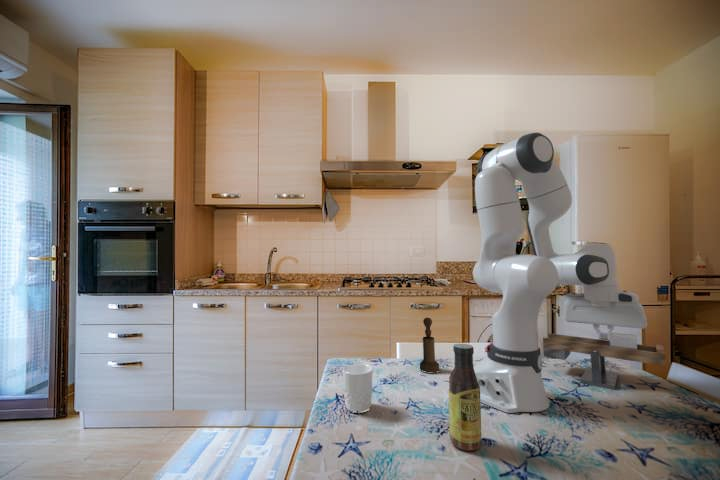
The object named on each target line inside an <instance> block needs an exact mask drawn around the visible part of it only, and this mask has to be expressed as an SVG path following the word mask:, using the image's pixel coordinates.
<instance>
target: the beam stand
mask: <svg viewBox="0 0 720 480" xmlns="http://www.w3.org/2000/svg"><path fill="white" fill-rule="evenodd" d="M590 354H591V355H590ZM590 354H589V355H590V366H591V367H588V366H587V367H586V368H585V370H584V371H583V373H582V375H581V377H580V379H579V381H580V384H585V385H589V386H595V387H598V388H604V389H609V390H615V389H616V386H617V383H618V377H619V372H617V371H612V370H607V366H606V357H603V356H600V354H599V352H594V351H591V352H590Z"/></svg>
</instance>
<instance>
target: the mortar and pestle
mask: <svg viewBox="0 0 720 480" xmlns="http://www.w3.org/2000/svg"><path fill="white" fill-rule="evenodd" d="M422 321H423V325H424V327H425V330H424V334H425V336H422V350H423V351H422V352H423V353H422V354H423V355H422V356H423V360H421V361H420V363H419V370H420V369H421V370H423V371H426V372H437V371H439V372H440V363H439V362H437V360H436V357H435V356H436V354H435V337H434V336H432V330H431V326H432V325H433V320H432V318H431V317H425V318H423V320H422Z"/></svg>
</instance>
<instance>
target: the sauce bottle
mask: <svg viewBox="0 0 720 480" xmlns="http://www.w3.org/2000/svg"><path fill="white" fill-rule="evenodd" d="M474 351H475V350H474V346H473V345H472V344H469V343H455V344H453V353H454V363H453V364H454V368H453V369H452V370H451V372H450V375H449V379H448V380H449V383H448V384H449V386H448V387H449V388H448V401H449V402H448V404H449V406H448V407H449V409H448V410H449V411H448V412H449V419H448V421H449V422H448V423H449V436H450V437H449V438H450V442H451V444H452V445H453V447H455V448H456V449H458V450H461V451H466V452H473V451H477V450H478V449H479V448H480V447H481V444H482V415H481V414H482V411H481V410H482V408H481V406H482V405H481V402H480V386H479V384H478V381H477V378H476V375H475V371H474V368H473V365H474V359H473V358H474Z"/></svg>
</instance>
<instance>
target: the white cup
mask: <svg viewBox="0 0 720 480" xmlns="http://www.w3.org/2000/svg"><path fill="white" fill-rule="evenodd" d="M342 383H343V395H344V396H343V397H344V404H345V405H344V406H346V408H347V409H349V410H350V411H364V410H367V409H369V408H370V407H371V408H372V396H373V367H372V366H370V365H368V364H362V363H354V364H349V365H348V364H347V365H346V366H344V367H343V368H342ZM346 408H345V409H346Z"/></svg>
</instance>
